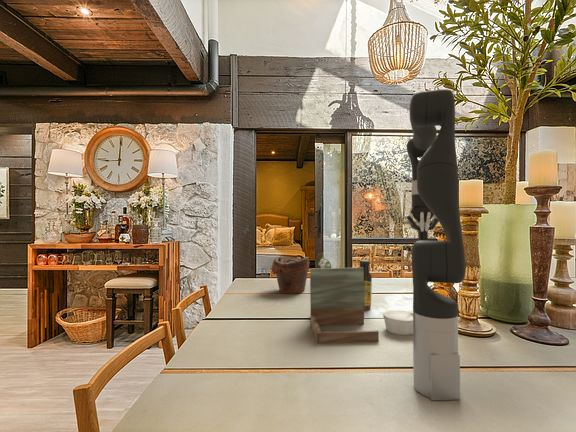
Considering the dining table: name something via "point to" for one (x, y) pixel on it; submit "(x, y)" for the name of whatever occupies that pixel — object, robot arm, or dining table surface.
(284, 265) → the brown flower pot
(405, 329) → the ramekin
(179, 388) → the dining table surface
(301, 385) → the dining table surface
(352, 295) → the cold frame
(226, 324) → the dining table surface
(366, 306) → the sauce bottle
